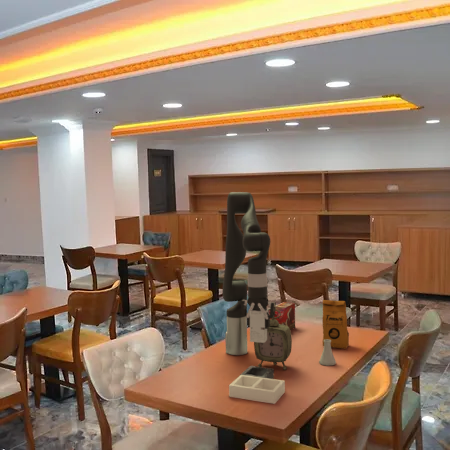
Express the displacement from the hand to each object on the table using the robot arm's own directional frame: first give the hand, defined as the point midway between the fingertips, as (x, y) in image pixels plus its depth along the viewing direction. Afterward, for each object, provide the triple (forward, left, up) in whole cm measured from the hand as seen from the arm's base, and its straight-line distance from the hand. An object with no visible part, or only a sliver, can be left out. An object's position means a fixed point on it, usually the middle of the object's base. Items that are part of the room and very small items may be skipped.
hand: (258, 327), depth 205 cm
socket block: (-2, +3, -22) cm, 23 cm away
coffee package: (+17, +56, -23) cm, 63 cm away
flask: (+19, +32, -23) cm, 43 cm away
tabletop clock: (-1, +20, -22) cm, 30 cm away
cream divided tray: (+3, -10, -22) cm, 25 cm away
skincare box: (0, 0, -5) cm, 5 cm away
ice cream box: (-15, +71, -23) cm, 76 cm away
